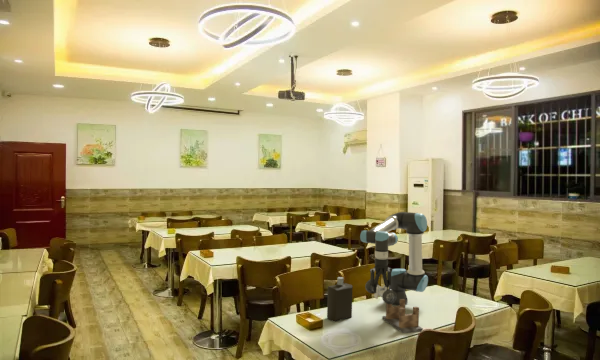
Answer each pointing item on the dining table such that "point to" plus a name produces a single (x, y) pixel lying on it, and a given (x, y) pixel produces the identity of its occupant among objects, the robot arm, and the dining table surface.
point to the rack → (402, 318)
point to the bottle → (339, 301)
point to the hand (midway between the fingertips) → (380, 297)
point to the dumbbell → (383, 293)
